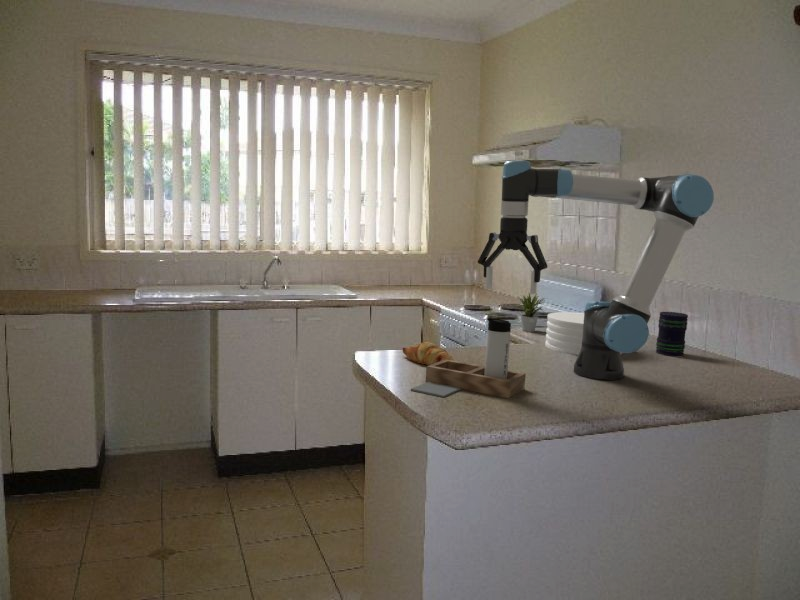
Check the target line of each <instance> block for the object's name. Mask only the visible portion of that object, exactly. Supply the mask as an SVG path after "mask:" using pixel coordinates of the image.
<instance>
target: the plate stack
mask: <svg viewBox="0 0 800 600" xmlns="http://www.w3.org/2000/svg"><path fill="white" fill-rule="evenodd" d="M546 318H547V321H546V326H547V327H546V330H545V333H546V334H545V344H544V346H545V347H546V348H548V349H550V350H552V351H556V352H560V353H564V354H569V355H570V354H571V355H575V356H578V355H579V352H580V350H581V347H582V336H583V324H584V312H573V311H570V312H569V311H564V312H562V311H560V312H559V311H558V312H557V311H556V312H550V313H548V314H547V316H546ZM620 354H621V355H622V354H623V353H621V352H620Z"/></svg>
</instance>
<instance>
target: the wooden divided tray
mask: <svg viewBox="0 0 800 600" xmlns="http://www.w3.org/2000/svg"><path fill="white" fill-rule="evenodd" d="M425 371H426V373H425V383H427V382H433V383H438V384H443V385H448V386H453V387H458V388H461V390H464V391H465V390H466V391H470V392H474V393H475V392H476V393H480V394H485V395H491V396H495V397H500V398H506V399H510V398H512V397H513V396H514V395H516V394H518V393H520V392H522V391H524V390H525V386H526V373H524V372H519V371H513V370H508V371H507V380H505V379H500V378H494V377H489V376H484V373H485V365H479V364H473V363H468V362H462V361H459V360H458V361H456V360H454V361H452V360H447V359H446V360H443V361H440V362H437V363H434V364H432V365H426V370H425Z"/></svg>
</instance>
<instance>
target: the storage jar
mask: <svg viewBox="0 0 800 600" xmlns="http://www.w3.org/2000/svg"><path fill="white" fill-rule="evenodd" d="M688 317H689V315H688V314H686V313H682V312H674V311H660V312H659V317H658V325H657V326H658V334H657V338H656V345H655V346H656V347H655V349H656V350H655V353H656V354H657V355H660V354H661V356H665V357H673V356H681V357H684V356H683V355H684V354H685V353H684V352H685V349H686V348H685V347H686V339H685V338H686V331H687V329H688V324H689V323H688Z"/></svg>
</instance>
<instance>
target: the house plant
mask: <svg viewBox="0 0 800 600" xmlns="http://www.w3.org/2000/svg"><path fill="white" fill-rule="evenodd" d="M539 297H540V296H539V295H538V294H537V292H536V293H535V294H534V295H533V298H532V297H531V294H530V292H528V295H524V294H522V298H523V299H522V298H520V297H519V296H517V298H518V299H519V300H520V302H521V303H522V305H523V306H521V305H515V307H516V308H520V309H521V310H523V312H524V314H521V315H520V321H521V331H522V332H526V333H534V332H535V331H536V327H537V323H538V319H539V316H538V315H535V314H536V313H538V312H539V311H542V312H543V313H545V312H544V309H543V308H544V307H545V306H540V307H538V306H539V305H540V304H542V303H543V302H544V300H545V299H547V297H543V298H540V299H538V298H539Z"/></svg>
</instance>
